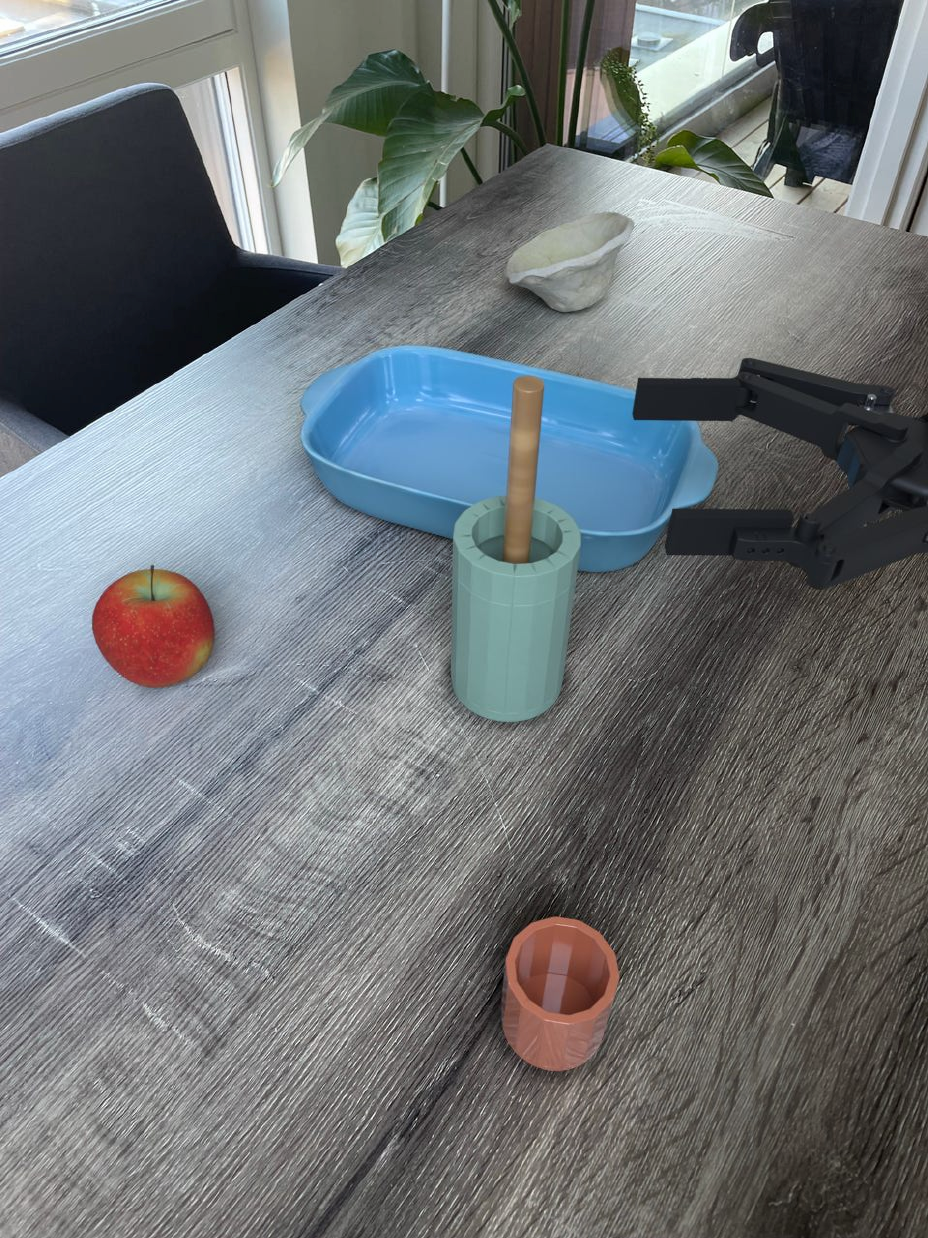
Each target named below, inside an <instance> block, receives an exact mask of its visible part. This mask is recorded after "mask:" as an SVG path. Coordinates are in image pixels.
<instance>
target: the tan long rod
mask: <svg viewBox="0 0 928 1238" xmlns="http://www.w3.org/2000/svg"><path fill="white" fill-rule="evenodd" d="M544 387H545V384H544V382H543V381H542V380H541V379H540V378H538V377H535V376H521V377H518V378H516V379H515V380H514V382H513V392H512V408H511V424H510V440H509V457H508V473H507V489H506V505H505V522H504V538H503V554H502V562H507V563H513V564H525V563H529V559H530V548H531V536H532V525H533V513H534V502H535V490H536V479H537V467H538V456H539V444H540V433H541V421H542V410H543V398H544Z"/></svg>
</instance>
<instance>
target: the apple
mask: <svg viewBox="0 0 928 1238" xmlns="http://www.w3.org/2000/svg"><path fill="white" fill-rule="evenodd" d="M91 630H92V635H93V638H94V641H95V644H96V646H97V648H98V651H100V653H101V655H102V657H103V659H105V661H106V662H107V663H108V664H109V665H110V666H111V668H112V669H113V670H114V671H115V672H116V673H118V674H119V675H120V676H121V677H122V678H124V679H125V680H127V681H129V682H131V683H133V684H136V685H138V686H141V687H145V688H150V689H151V688H152V689H158V688H167V687H172V686H175V685H178V684H180V683H183V682H185V681H187V680H190V678H192V677H194V676H195V675H197V674H198V673H199V672H201V670H202V669H203V668H204V667H205V665H206V664H207V663H208V661H209V659H210V657H211V655H212V653H213V650H214V645H215V638H216V637H215V635H216V634H215V632H216V631H215V630H216V629H215V621H214V617H213V613H212V611H211V607H210V605H209V602H208V600H207V599H206V597H205V596H204V594H203V592H202V590H200V589H199V587H198V586H197V585H196V584H195V583H194V582H193V581H191V580H190V579H189V578H187V577H185V576H184V575H182V574H180V573H178V572H175V571H172V570H167V569H159V568H155V565H154V564H152V565H150V568H146V569H139V570H135V571H132V572H129V573H126V574H124V575H122V576H121V577H119V578H117V579H116V580H115V581H114V582H113V583H111V584H110V585H108V587H107V588H106V589H105V590H104V591H103V592H102V593H101V595H100V596H99V598H98V599H97V601H96V603H95V605H94V608H93V611H92V615H91Z"/></svg>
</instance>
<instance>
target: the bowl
mask: <svg viewBox="0 0 928 1238" xmlns="http://www.w3.org/2000/svg"><path fill="white" fill-rule="evenodd" d="M634 228H635V221H634V219H632V218H630V217H628V216H626V215H624V214H621V213H619V212H616V211H612V212H611V211H605V212H599V213H598V212H597V213H591V214H587V215H584V216H581V217H580V218H575V219H574V220H573V221H571V222H566V223H563V224H561V225H559V226H556V227H553V228H550V229H549V230H544V231H542V232H541V233H539V234H537V235H536V236H535V237H534V238H532V239H530V240H529V241H527V242H526V243H525V244H523V245H522V246H520V247H518V248H516V249H515V251H514V252H513V253H512V255H511V257H510V258H509V259H508V262H507V264H506V266H505V268H504V270H503V275H504V276H505V278H507V279H508V280H509V283H510V284H511V285H515V286H519V287H521V288H525V289H528V290H529V291H531V292H532V293H534V294H535V295H536V296H538V297H539V298H541V299H542V300H543V301H544V302H545V303H546V305H547V306H548V307H549V308H550V309H553V310H555V311H557V312H561V313H569V312H570V313H571V312H576V311H581V310H583V309H586V308H590V307H592V305H594V304H595V303H597V302H598V301H601V299H602V298H603V297H604V296H606V294H607V293H608V291H609V289H610V287H611V285H612V282H613V280H614V270H615V261H616V260H617V258H618V256H619V253H620V251H621V250H622V248H623V247H624V246H625V245H626V244H627V242H628V241H629V239H630V238H631V235H632V232H633V230H634Z"/></svg>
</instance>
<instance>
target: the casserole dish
mask: <svg viewBox="0 0 928 1238" xmlns="http://www.w3.org/2000/svg"><path fill="white" fill-rule="evenodd" d="M521 376H535V377H538V378H540V379H541V380H542V381H543V382H544V384H545V387H544V398H543V410H542V421H541V433H540V444H539V456H538V467H537V479H536V490H535V498H540V499H542V500H545V501H547V502H550V503H552V504H554V505H557V506H559V507H560V508H561V509H563V510H564V511H565V512H566V513H568V514H569V515H570V516H571V517H572V518H573V519H574V521H575V522H576V524H577V526H578V528H579V530H580V533H581V547H580V555H579V562H578V570H577V572H586V573H607V572H614V571H619V570H622V569H624V568H628V567H630V566H631V565H634V564H635V563H637V562H638V561H641V559H642V558H643V557H645V556H646V555H647V554H648V553H649V551H650V550H651V549H652V548H653V547H654V545H655V544H656V543H657V541H658V539H659V538H660V536H661V535H662V534H663V532H664V530H665V528H666V527H667V525H668V524H669V522H670V517H671V513H672V508H675V509H689V508H692V507H695V506H697V505H699V504H700V503H703V502H704V501H705V500H706V499H707V498H708V497H709V496H710V495H711V493H712V490H713V487H714V486H715V483H716V480H717V477H718V473H719V462H718V459H717V456H716V455H715V453H714V452H713V451H712V450H711V449H710V447H708V445H707V444H706V443H704V442H703V438H702V430H701V427H700V424H699V421H661V420H634V419H633V415H632V413H633V406H634V400H635V394H636V389H632V388H628V387H624V386H620V385H616V384H613V383H607V382H603V381H599V380H594V379H590V378H586V377H581V376H577V375H572V374H567V373H563V372H560V371H559V372H558V371H554V370H549V369H545V368H542V367H541V368H540V367H536V366H531V365H527V364H522V363H518V362H514V361H509V360H504V359H499V358H494V357H490V356H485V355H482V354H476V353H471V352H466V351H462V350H461V351H460V350H456V349H450V348H445V347H438V346H429V345H419V344H406V345H405V344H403V345H394V346H389V347H385V348H380V349H378V350H375V351H373V352H371V353H369V354H367V355H365V356H362V357H361V358H359V359H358V360H356V361H353V362H350V363H347V364H344V365H340V366H337V367H335V368H332V369H329V370H328V371H326V372H324V373H323V374H321V375H320V376H318V377H317V378H316V379H314V381H312V383H311V384H310V385H308V386H307V388H306V389H305V391H304V392H303V394H302V395H301V398H300V401H299V407H300V410H301V412H302V414H303V415H304V416H305V418H304V421H303V422H302V424H301V427H300V433H299V435H300V436H299V437H300V443H301V446H302V448H303V449H304V450H303V451H304V452H305V453H306V455H307V457H308V459H309V461H310V464H311V466H312V468H313V469H314V472H315V473H316V475H317V477H318V479H319V480H320V482H321V484H322V485H323V486H324V488H325V489H326V490H327V491H328V493H330V494H331V496H332V497H334V498H335V499H336V500H338V501H340V502H341V503H342V504H344V505H346V506H347V507H349V508H351V509H353V510H355V511H357V512H360V513H362V514H365V515H367V516H370V517H373V518H376V519H379V520H382V521H385V522H388V523H392V524H396V525H400V526H403V527H407V528H411V529H415V530H418V531H421V532H425V533H429V534H433V535H436V536H440V537H444V538H448V539H451V540H453V534H454V526H455V523H456V521H457V520H458V519H459V517H460V516H461V515H462V513H463V512H464V511H465V510H466V509H468V508H469V507H471V506H473V505H474V504H476V503H478V502H480V501H482V500H486V499H489V498H493V497H496V496H506V489H507V473H508V457H509V440H510V424H511V408H512V392H513V382H514V380H515V379H516V378H518V377H521Z"/></svg>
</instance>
